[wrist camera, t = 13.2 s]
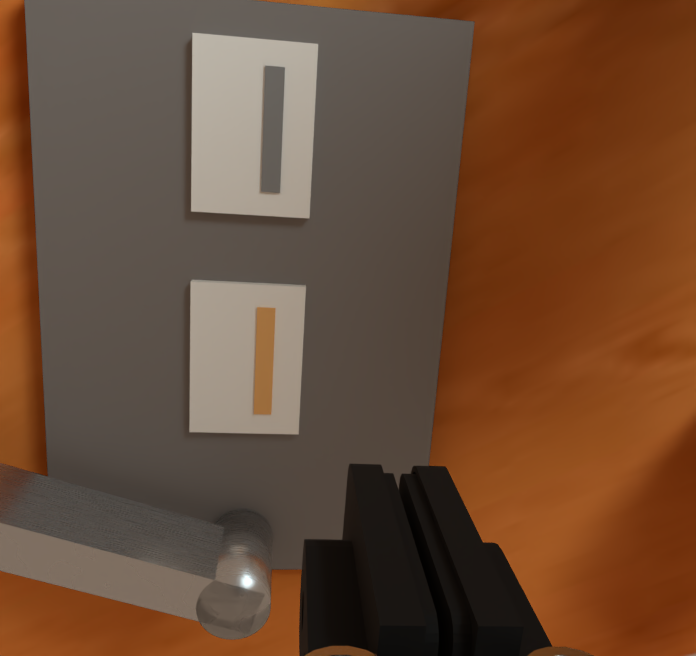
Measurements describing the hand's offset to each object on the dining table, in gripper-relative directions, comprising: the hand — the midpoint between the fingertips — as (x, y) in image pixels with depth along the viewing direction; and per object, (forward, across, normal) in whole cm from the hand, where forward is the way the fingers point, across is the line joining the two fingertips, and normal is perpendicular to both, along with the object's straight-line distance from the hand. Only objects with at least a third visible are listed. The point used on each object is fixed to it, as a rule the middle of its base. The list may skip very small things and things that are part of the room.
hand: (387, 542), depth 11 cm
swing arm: (+18, +9, +10) cm, 23 cm away
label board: (+20, +4, +1) cm, 20 cm away
